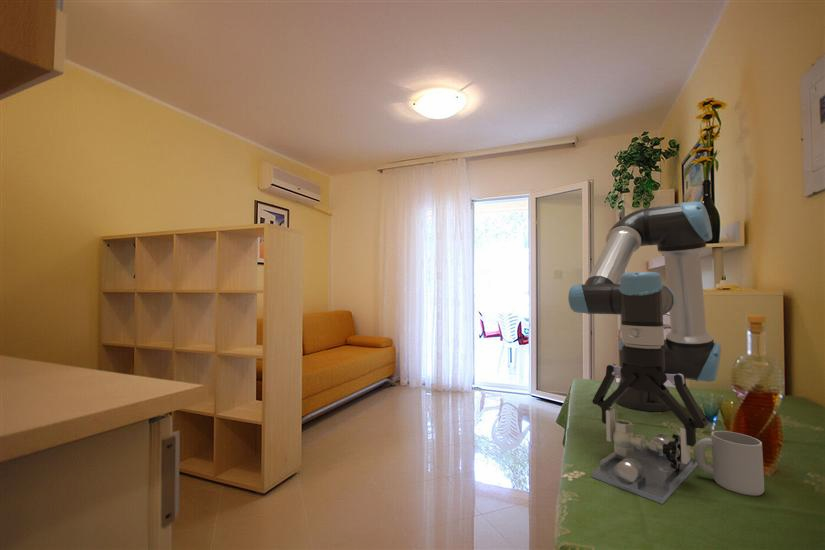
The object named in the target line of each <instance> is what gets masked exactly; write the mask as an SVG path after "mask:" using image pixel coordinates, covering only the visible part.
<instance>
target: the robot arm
mask: <svg viewBox="0 0 825 550" xmlns="http://www.w3.org/2000/svg"><path fill="white" fill-rule="evenodd" d="M708 213H709V212H708V210H707V208H706V206H705V204H704V203H702V202H701V201H688V202H687V201H684V202H683V201H682V202H679V203H672V204H668V205H661V206H652V207H645V208H641V209H636V210H634V211H632V212H630V213H628V214H627V215H624V217H622V218H620V220H618V221H617V222H616V223H614V224H613V226H612V227H611V228H610V229H609V230H608V233H607V234H606V239H605V241H606V243H605V246H604V247H603V249H602V251H601V253H600V255H599V257H598V259H597V260H596V263H595V264H594V266H593V268H592V270H591V271H590V274H589V276H588V277H587V279H586V281H585V282H584V284H582V283H580V284H574V285H572V286H571V287H570V288H569V290H568V297H567V298H568V304H569V308H570V309H571V311H573V313H578V314H587V315H620V317H621V318H620V321H621V322H620V323H621V331H620V332H621V337H620V339H619V349H618V351H619V365H616V364H615V363H612V364H608V365H606V369H605V376H604V378H603V379H602V382H600V385H599V387H598V389H597V391H596V393H595V394H594V396H593V398H592V401H591V402H592V404H593V405H596V406H598V407H599V408H600V409H601V421H602V424H606V425H605V426H606V427H605V428H606V431H605V432H606V442H610V443H611V442H612V441H614V440H613V431H614V430H615V429H614V420H616V411H615V408H612V406H613V405H614V404H615V403H616V404H617V405H619V406H622V407H625V408H629V409H633V410H637V411H638V410H639V411H646V412H665V411H668V410H669V409H670V411H671V412H672V413H673V414H674V415H675V416H676V418H677V419H678V420H679V422H680V423H682V426H681V427H680V428H679V432H680V434H679V437H681V462H682V463H684V464H687V463H688V462H689V461H690V458H691V447H695V445H696V443H697V434H696V433H697V431H696V429H704V428H705V427H706V426H708V425H709V423H708V421H707V418H706V417H705V415H704V413H703V412H702V410H701V408H700V407H699V405H698V402H696V399H695V397H694V396H693V395H692V393H691V391H690V390H689V388H688V386H687V383H686V381H687V380H690V381H695V382H706V383H707V382H709V383H710V382H714V381H716V379H717V378H718V373H719V367H720V361H721V354H722V353H721V352H722V351H721V350H722V349H721V347H722V346H721V344H720V343H718V342H714V341H715V340H714V336H713V334H710V333H709V332H708V331H707V323H706V312H705V300H704V298H705V297H704V288H703V277H702V275H703V274H702V262H701V252H702V251H704V250H705V249H706V247H707V242H709V241H711V240H712V239H713V232H712V225H711V224H712V223H711V220H710V216H709V214H708ZM646 246H656V247H657V252H658V253H660V254H661V255H663V257H664V267H665V269H664V270H665V278H666V279H665V280H666V285H665V284H663V282H662V276H661V274H660V273H659V272H657V271H656V272H655V271H634V272H625V271H626V270H627V267H628V265H629V263H630V260H631V258H632V257H633V254H634V253H635V252H637V250H639V249H640V247H646ZM667 313H668V314H669V321H670V331H669V332H668V333H667V334H666V335H664V334H665V332H664V315H667ZM616 376H619V377H620V378H619V382H618V386H617V388H616V389H615V390H614V391H613V392H612V393H611V394H610V395H609V396H608V397H607V398H606V395H607V393H608V392H609V390H610V389H611V386H612V384H613V382H614V380H615V378H616ZM667 381H669V382H670V383H671V385H672V386H675V389H676V392H678V395H679V397H680V398H681V401H682V402H683V403H684V406H685V407H686V409H687V411H688V412H687V411H686V409H684V407H683V406H682V405H681V403H679V401H678V400H677V399H676V397H674V396H673V395H672V394H671V392H670V390H669V388H667V386H666V385H665V383H666V382H667ZM605 398H606V399H605Z"/></svg>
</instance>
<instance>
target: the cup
mask: <svg viewBox="0 0 825 550" xmlns="http://www.w3.org/2000/svg"><path fill="white" fill-rule="evenodd" d="M708 447H709V448H710V447H711V457H712V465H710V464H709V463H708V462H707V460H706V456H705V455H706V454H705V453H706V449H707V448H708ZM693 449H694V453H693V454H694V459H695V460H696V462H697V464H698V467H699V468H700V469H702V471H703V472H706V473H708V474H711V475H712V477H713V479H714V481H715V482H716V484H717V485H718V486H720V487H722V488H723V489H725V490H727V491H730V492H734V493H736V494H740V495H744V496H751V497H758V496H762V495H763V494H764V492H765V475H764V474H765V473H764V472H765V471H764V457H763V456H764V454H763V442H762V441H761V440H759V439H758V438H756V437H752V436H751V435H746V434H743V433H740V432H739V433H738V432H733V431H726V430H715V431H712V432H711V438H709V437H705V438H701V439H699V440H698V441H696V443H695V445H694V448H693Z"/></svg>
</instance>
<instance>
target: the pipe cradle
mask: <svg viewBox="0 0 825 550" xmlns="http://www.w3.org/2000/svg"><path fill="white" fill-rule="evenodd" d="M650 440H651V441H655V442H658V443H659V445H662V446H663V444H668V443H669V442H670V441H673V440H672V438H670V436H668V435H666V434H662V433H660V434H657V435H656V436H654V437H653V438H652V439H650ZM633 448H634V456H632V457H624V456H620V455H618V454H616V453H615V451H613V452H612V453H610V454H609V455H607V456H605V457H603V458H602V459H601V460H599V466H598V467H596V468H595V469H593V470H592V471H591V475H590V476H591V478H593V479H595V480H598V481H601V482H603V483H606V484H608V485H611V486H613V487H616V488H619V489H622V490H623V491H627V492H629V493H632V494H634V495H637V496H640V497H643V498H646V499H648V500H650V501H653V502H655V503H659V504H660V505H664V503H665V502H666V501H667V500H668V499H669V497H671V496H672V495H673V494H674V492H675V491H676V490H677V489H678V488H679V487H680V486H681V484H682V483H684V481H685V480H686V479H687V478H688V477H689V476H690V475H691V474H692V473H693V471H694V470H695V469H696V468H697V466H698V467H699V465H698V464H697V462H696V459H695V458H691V457H690V461H689V462H688V463H687V464H684V463H680V465H681V469H680V470H677V469H674V468H671V466H670V464H671V463H672V462H670V461H669V460H668V459H667V457H666V455H665V454H663V451H661V450H658V452H656V451H653V450H650V449H649V448H648V447H647V448H644V450H643V451H642V450H638V449H636V447H634V446H633Z"/></svg>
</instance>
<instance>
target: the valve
mask: <svg viewBox="0 0 825 550" xmlns="http://www.w3.org/2000/svg"><path fill="white" fill-rule="evenodd" d="M614 429H615V430H614V431H613V440H612V441H613V442H614V445H613V447H614V452H615V453H616V454H618V455H620V456H624V457H632V456H634V448H633V446H634V447H636V449H638V450H642V451H643V450H644V448H647V447H648V448H649V449H650V450H653V451H656V452H658V450H661V451H663V454H665V455H666V457H667V459H668V460H669V461H670V462H672V463H671V464H670V466H671V468H674V469H677V470H680V469H681V465H680V463H682V462H681V436H680V434H679V435H678V434H674V433H673V434H672V436H671V437H672V438H671V439H674V440H672V441H670V442H669V443H668V444H663V446H662V445H659V443H658V442H655V441H651V440H652V439H650V440H649V441H648V440H647V439H646V438H645V435H643V434H639V433H638V434H634V424H633V422H631V421H629V420H625V419H615V420H614Z"/></svg>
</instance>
